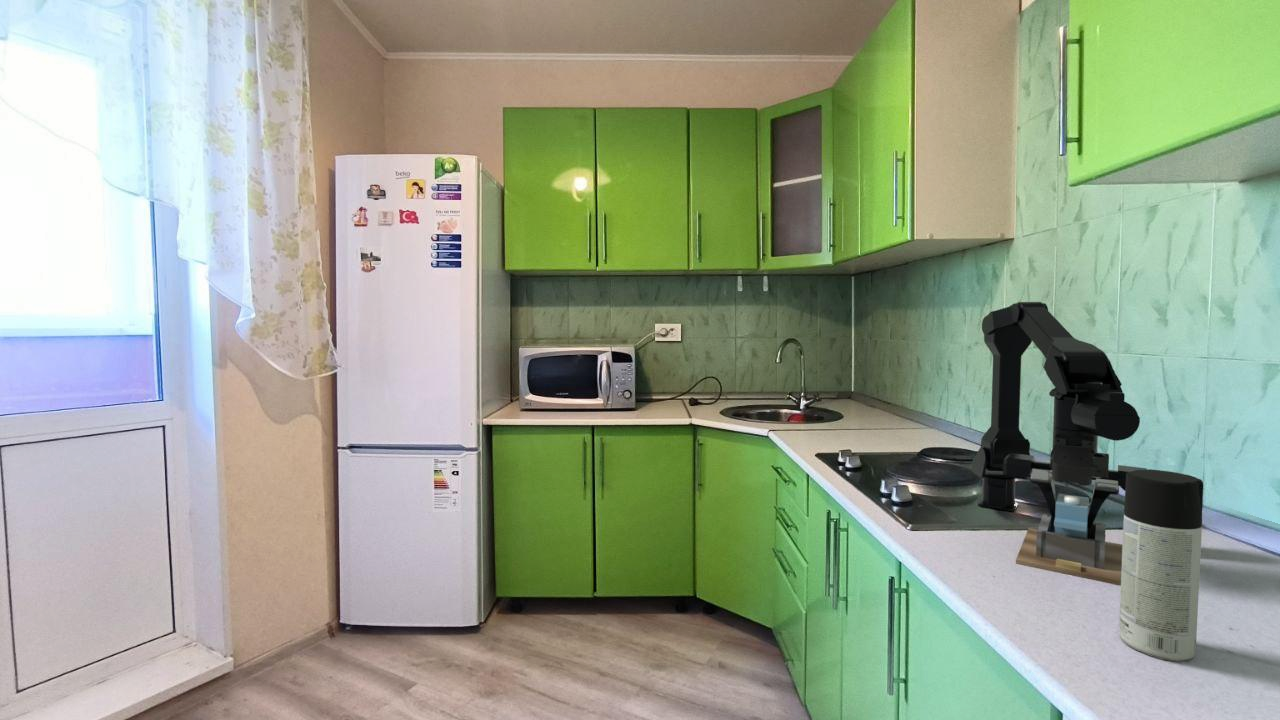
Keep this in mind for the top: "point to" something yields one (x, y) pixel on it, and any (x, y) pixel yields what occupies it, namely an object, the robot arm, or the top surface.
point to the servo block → (1071, 515)
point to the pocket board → (1072, 552)
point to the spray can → (1161, 563)
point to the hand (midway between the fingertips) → (1071, 524)
